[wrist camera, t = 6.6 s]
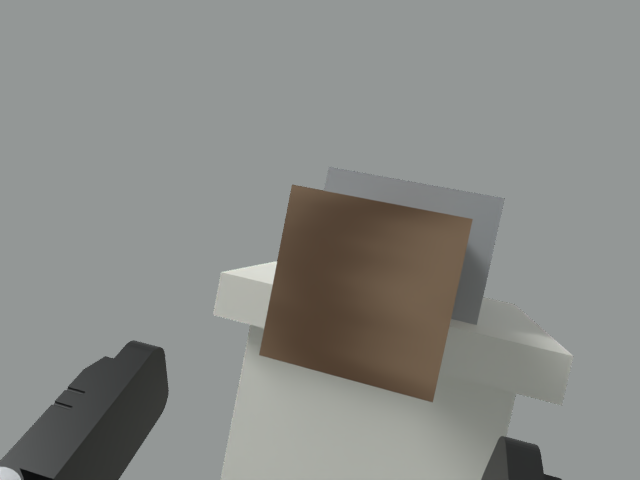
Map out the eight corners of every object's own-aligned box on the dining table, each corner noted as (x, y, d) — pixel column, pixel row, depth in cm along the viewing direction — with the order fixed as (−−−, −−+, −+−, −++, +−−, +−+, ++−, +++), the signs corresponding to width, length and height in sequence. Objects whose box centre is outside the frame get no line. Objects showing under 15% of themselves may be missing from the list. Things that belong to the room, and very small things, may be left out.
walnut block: (258, 355, 11) (291, 184, 11) (374, 271, 35) (386, 215, 35) (432, 402, 11) (472, 218, 10) (431, 284, 34) (443, 227, 34)
